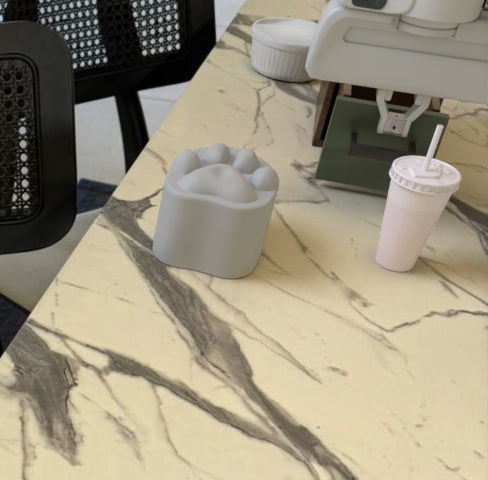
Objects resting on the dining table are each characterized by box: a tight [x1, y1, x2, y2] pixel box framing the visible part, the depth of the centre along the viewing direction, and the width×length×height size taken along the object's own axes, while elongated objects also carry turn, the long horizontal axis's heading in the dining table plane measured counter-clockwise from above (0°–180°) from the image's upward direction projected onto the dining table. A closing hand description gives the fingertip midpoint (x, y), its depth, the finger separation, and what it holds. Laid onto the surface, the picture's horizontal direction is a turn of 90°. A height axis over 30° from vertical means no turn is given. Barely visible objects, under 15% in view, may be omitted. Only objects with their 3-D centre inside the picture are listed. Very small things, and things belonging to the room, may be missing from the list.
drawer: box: [314, 83, 450, 193], centre depth 112 cm, size 19×11×9 cm, turn 165°
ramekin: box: [250, 16, 318, 83], centre depth 137 cm, size 11×11×5 cm
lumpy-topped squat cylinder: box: [152, 142, 280, 280], centre depth 99 cm, size 10×13×9 cm
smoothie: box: [374, 125, 463, 273], centre depth 96 cm, size 6×6×14 cm
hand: (391, 133), depth 104 cm, fingers closed
